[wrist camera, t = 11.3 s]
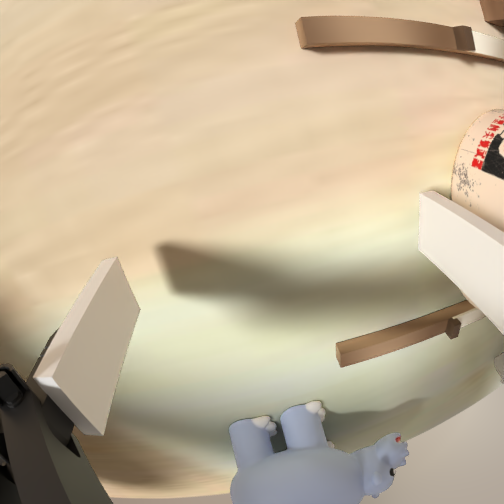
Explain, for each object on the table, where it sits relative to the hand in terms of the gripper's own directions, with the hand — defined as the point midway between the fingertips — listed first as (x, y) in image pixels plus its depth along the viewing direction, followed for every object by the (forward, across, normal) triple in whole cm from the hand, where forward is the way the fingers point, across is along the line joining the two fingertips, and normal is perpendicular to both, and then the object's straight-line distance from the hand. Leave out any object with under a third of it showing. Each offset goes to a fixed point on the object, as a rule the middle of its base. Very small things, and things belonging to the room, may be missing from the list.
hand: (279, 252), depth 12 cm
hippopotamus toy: (+2, 0, -19) cm, 19 cm away
